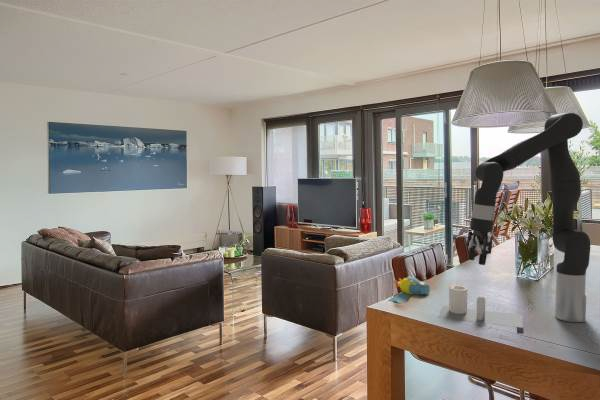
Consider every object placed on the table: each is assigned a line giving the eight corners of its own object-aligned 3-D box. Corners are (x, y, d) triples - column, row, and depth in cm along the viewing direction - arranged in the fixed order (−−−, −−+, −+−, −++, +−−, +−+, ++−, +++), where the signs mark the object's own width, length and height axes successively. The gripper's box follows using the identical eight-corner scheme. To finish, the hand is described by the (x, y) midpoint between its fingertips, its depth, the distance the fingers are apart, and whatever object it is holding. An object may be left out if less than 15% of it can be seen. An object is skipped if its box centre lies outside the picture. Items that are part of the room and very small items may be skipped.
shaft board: (521, 318, 162) (522, 292, 161) (523, 331, 149) (523, 303, 149) (443, 309, 174) (443, 285, 173) (438, 321, 161) (438, 294, 160)
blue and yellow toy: (411, 268, 209) (442, 274, 198) (411, 286, 209) (441, 292, 199) (380, 280, 188) (412, 287, 178) (380, 300, 189) (412, 308, 179)
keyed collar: (467, 309, 169) (467, 286, 168) (466, 314, 163) (466, 290, 163) (449, 307, 172) (450, 284, 171) (447, 312, 166) (448, 288, 165)
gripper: (502, 221, 150) (496, 267, 151) (483, 216, 164) (477, 259, 165) (481, 218, 149) (475, 265, 150) (464, 214, 163) (457, 257, 164)
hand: (476, 262), depth 158 cm, fingers open, 8 cm apart
